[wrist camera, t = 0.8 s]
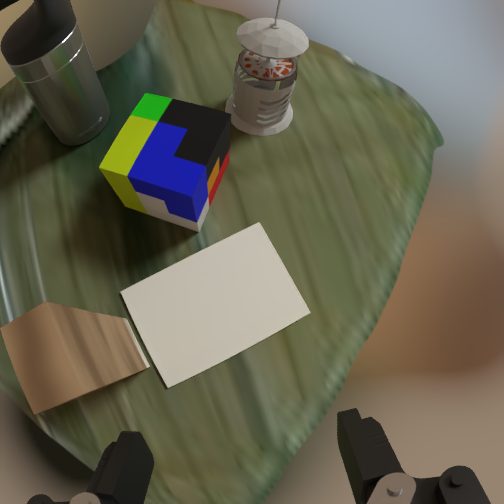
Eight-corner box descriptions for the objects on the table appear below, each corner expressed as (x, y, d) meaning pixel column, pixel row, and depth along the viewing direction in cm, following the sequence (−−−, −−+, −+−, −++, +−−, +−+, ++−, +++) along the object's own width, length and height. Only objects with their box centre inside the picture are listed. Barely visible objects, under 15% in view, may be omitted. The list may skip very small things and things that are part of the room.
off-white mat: (168, 387, 32) (168, 388, 32) (121, 292, 34) (120, 291, 34) (309, 312, 36) (310, 312, 35) (258, 223, 38) (259, 222, 37)
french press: (210, 111, 41) (211, -50, 17) (260, 71, 44) (285, -67, 20) (265, 148, 41) (307, -19, 16) (312, 103, 44) (366, -36, 19)
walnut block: (117, 381, 32) (34, 414, 14) (94, 334, 33) (0, 328, 15) (150, 366, 32) (84, 393, 15) (126, 318, 34) (45, 301, 16)
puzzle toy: (199, 232, 37) (191, 196, 27) (125, 206, 37) (98, 167, 27) (228, 162, 40) (231, 113, 30) (159, 142, 40) (145, 93, 30)
